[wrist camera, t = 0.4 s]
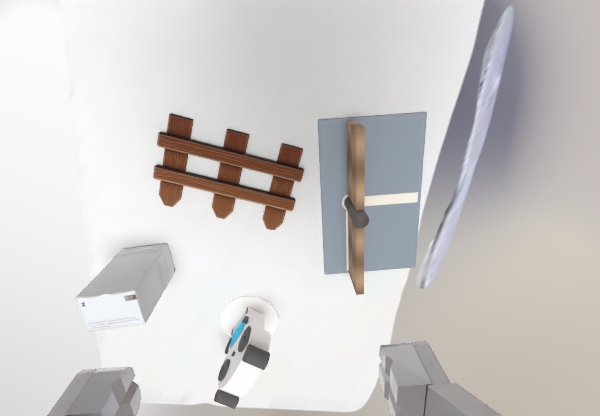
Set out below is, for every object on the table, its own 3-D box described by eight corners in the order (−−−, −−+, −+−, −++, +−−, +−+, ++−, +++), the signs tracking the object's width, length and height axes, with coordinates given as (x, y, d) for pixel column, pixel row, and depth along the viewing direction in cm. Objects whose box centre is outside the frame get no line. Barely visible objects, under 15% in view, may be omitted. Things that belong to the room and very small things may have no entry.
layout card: (318, 119, 51) (318, 120, 50) (426, 112, 51) (427, 112, 51) (324, 273, 61) (324, 274, 60) (414, 266, 61) (415, 267, 61)
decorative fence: (164, 110, 50) (153, 199, 55) (160, 111, 48) (149, 203, 53) (308, 149, 53) (285, 230, 58) (309, 151, 51) (285, 234, 56)
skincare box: (132, 275, 59) (85, 334, 45) (122, 246, 57) (70, 298, 43) (178, 270, 59) (145, 327, 45) (170, 240, 57) (133, 291, 43)
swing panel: (346, 121, 50) (356, 127, 44) (354, 121, 50) (365, 126, 44) (347, 194, 55) (356, 210, 48) (354, 194, 55) (364, 209, 48)
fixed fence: (343, 196, 55) (353, 213, 48) (357, 194, 55) (369, 212, 48) (345, 270, 60) (353, 297, 53) (357, 269, 60) (368, 295, 53)
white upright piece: (239, 284, 61) (225, 344, 47) (290, 308, 63) (292, 373, 49) (210, 328, 64) (189, 396, 50) (260, 350, 67) (253, 421, 53)
